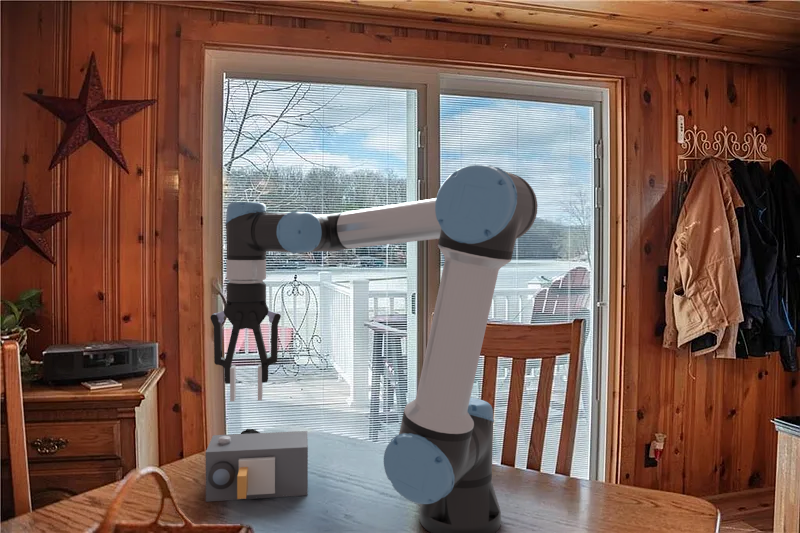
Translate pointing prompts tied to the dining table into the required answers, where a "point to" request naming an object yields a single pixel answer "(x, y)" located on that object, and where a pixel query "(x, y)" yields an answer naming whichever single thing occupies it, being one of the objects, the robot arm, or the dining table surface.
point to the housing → (280, 445)
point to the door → (256, 476)
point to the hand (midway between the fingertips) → (246, 398)
